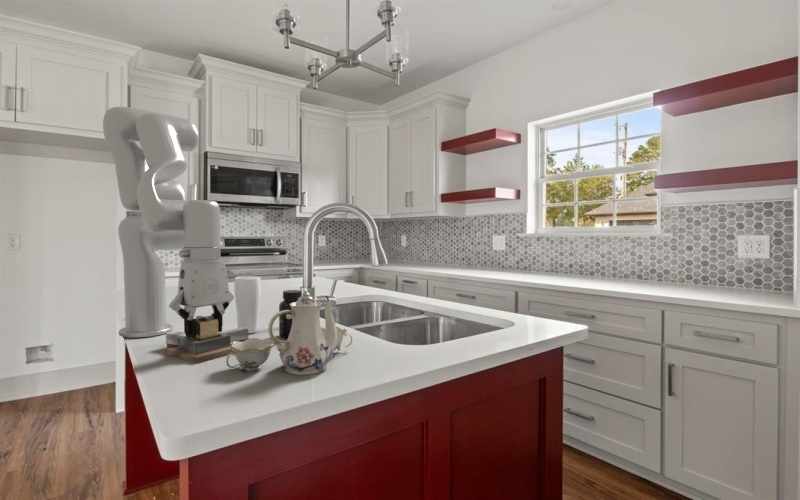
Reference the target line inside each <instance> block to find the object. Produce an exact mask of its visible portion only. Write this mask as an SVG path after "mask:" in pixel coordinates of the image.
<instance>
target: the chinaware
mask: <svg viewBox="0 0 800 500" xmlns="http://www.w3.org/2000/svg"><path fill="white" fill-rule="evenodd" d="M334 302H335V299H329V300H328V302H326V304H325V307H324V319H325V320H324V322H325V327H322V326H321V319H320V315H321V313H320V311H321V307H322V304H323V303H322V302H321V301H316V300H315V298H314V297H313V296H310V293H309V291H308V290H307V289H305V290H304V291H303V292H302V297H299V298H298V300H297V302H293V303H290V306H291V309H292V311H291V310H284V311H280V312H279V311H278V312H277V313H275V314H274V315H272V317H271V319H270V321H269V324H268V329H267V330H268V335H269V337H270V338H266V339H260V338H258V337H251V338H249V339H247V340H245V341H243V342H239V341H236V342H231V349H232V350H233V351H234V352H231V353H229V354H228V355H226V360H225V363H226V366H227V367H228V368H230V369H234V368H236V367H239V368H238V369H239V370H246V371H248V372H251V371H259V370H260V369H262V368H263V366H261V365H263V364H265V363H266V362H267V360H268V359H269V357H270V354H271V351H272V348H273V347H274V345H275V344H274V342H275V343H277V344H276V348H277V351H278V352H279V353H278V355H279V359H280V360H281V364H283V366H285V369H284V370H285V372H286V373H288V374H292V375H297V376H299V375H301V376H306V375H307V376H308V375H314V374H318V373H322V372H323V371H325V370H327V368H328V365H327V364H329V363H330V362H331V361H332V359H333V357H334V355H336V353H335V351H336V350H337V351H341V350H342V349H341V347H344V348H347V347H350V345H352V343H353V337H352V335H351V333H348V329H346V328H343V329H342V328H340V327H339V326H337V325H336V321H335V318H334V315H333V312H332V306H333V305H334V304H333V303H334ZM287 312H291V313H292V315H291V314H286V318H287V319H291V318H292V327H291V331H290V334H289V337H288V339H287V340H280V339H278V338H277V337H275V336H274V333H273V328H274V327H273V326H274V323H275V321H276V320H277V318H279V316H280V315H281V314H284V313H287ZM347 335H348V336H349V337H350V343H349V344H347V345H343V344H342V343H343V339H344V336H345V337H347ZM231 355H232V356H234V357H235V358H236V361H237V362H238V364H235V365H233V366H232V365H230V364H229V358H230V356H231ZM244 367H245V368H244Z"/></svg>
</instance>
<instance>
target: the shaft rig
mask: <svg viewBox="0 0 800 500" xmlns="http://www.w3.org/2000/svg"><path fill="white" fill-rule="evenodd" d="M247 339H250V338H249V334H248V328H243V327H241V328H238V327H237V328H232V329H227V330H222V332H218V337H217V338H213V339H208V340H204V341H200V342H199V341H196V340H192V339H189V337H187V336H186V335H185V332H184V331H175V330H173V331H170V332H168V333H165V343H166V351H165V352H166V355H169V356H172V357H175V358H179V359H182V360H184V361H187V362H191V363H194V364H201V363H204V362H207V361H212V360H215V359H219V358H222V357H227V356H228V354H229V353H231V352H234V351H233V350H232V349H231V344H232V343H233V342H236V341H239V342H243V341H245V340H247Z"/></svg>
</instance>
